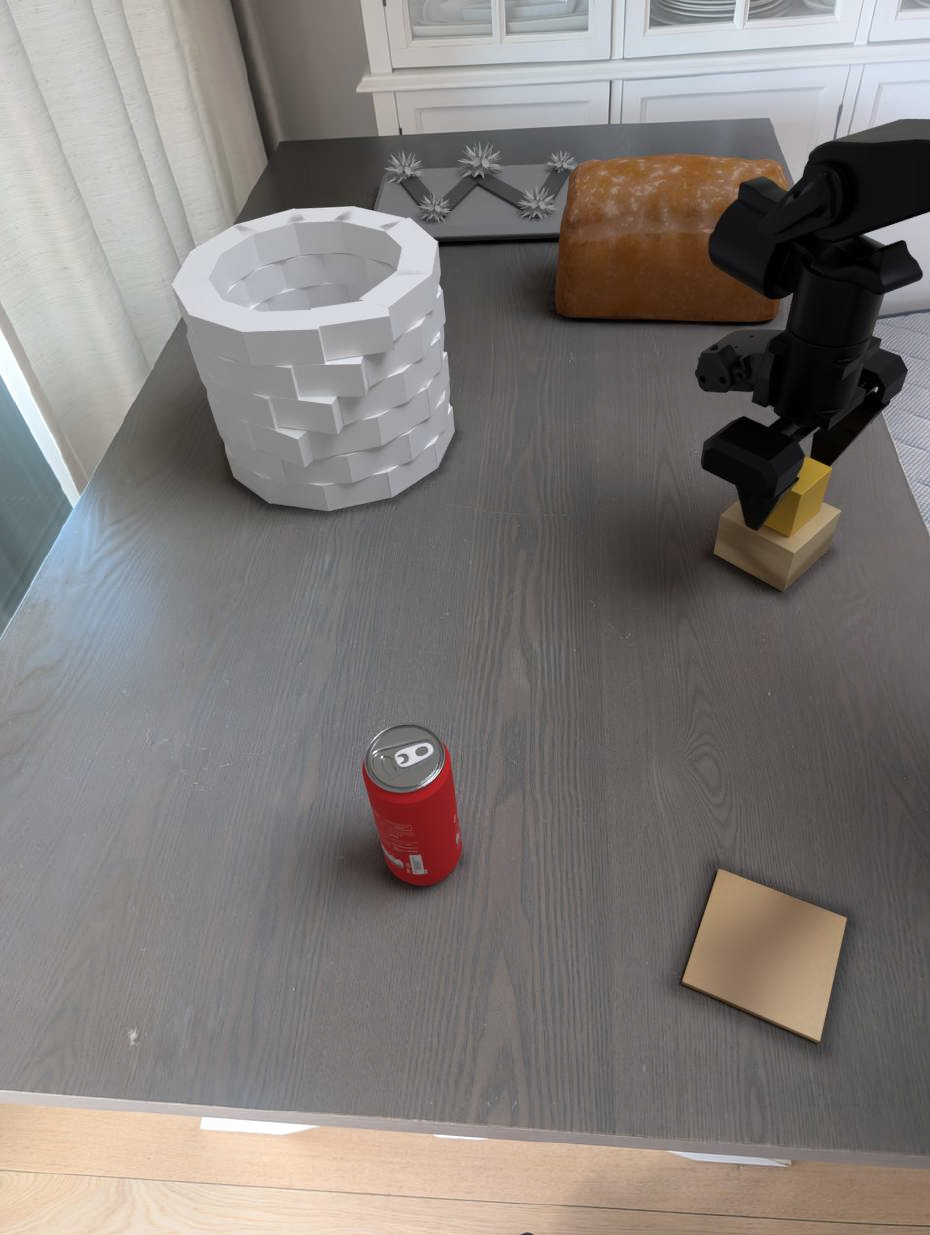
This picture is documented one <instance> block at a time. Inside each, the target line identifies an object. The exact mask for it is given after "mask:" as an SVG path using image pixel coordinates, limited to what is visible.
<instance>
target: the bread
mask: <svg viewBox="0 0 930 1235" xmlns="http://www.w3.org/2000/svg"><path fill="white" fill-rule="evenodd" d="M578 164H579V165H578V166H577V167H576V168H575V169H574V170H573V171H572V172H570V175H569V183H568V191H567V202H566V205H565V209H564V212H563V215H562V220H561V224H560V237H559V238H558V248H557V261H556V262H557V263H556V274H555V275H556V277H555V293H554V294H555V295H554V296H555V297H554V300H555V308H556V313H557V314H559V315H561V316H565V317H567V318H574V319H575V318H577V319H599V320H648V321H649V320H654V321H677V322H678V321H681V322H682V321H683V322H711V323H754V322H757V323H759V322H763V321H768V320H769V321H770V320H774V319H775V317H776V316H777V315H778V314H779V311H780V304H781V299H776V300H773V299H769V298H766V297H765V296H763V295H761V294H760V293H758V292H756V291H755V290H753V289H751V288H750V287H748V286H746V285H745V284H743V283H741V282H740V281H738V280H736V279H735V278H733V277H731V276H730V275H728V274H726V273H725V272H723V271H721V270H720V269H718V268H717V267H715V266H714V265H713V264H712V262H711V260H710V257H709V253H708V243H709V237H710V234H711V233H712V232H713V231H714V228H715V226H716V224H717V222H718V220H719V218H720V217H721V215H722V214H723V213H724V211H725V210H726V209H727V207H728V206H729V205H730V204H732V203H733V202H734V201H735V200H736V199H737V198H738V191H739V185H740V183H742V182H744V181H747V180H751V179H754V178H757V177H760V176H764V177H766V178H768V179H770V180H772V181H774V182H775V183H776V184H777V185H778V186H779V187H781V188H782V189H785V190H787V191H789V190H790V188H789V182H788V179H787V175H786V172H785V168H784V166H783V165H782V164H781V163H780V162H779V161H777V160H774V159H770V158H760V159H759V158H758V159H754V160H753V159H752V160H750V159H746V158H743V157H728V156H727V157H726V156H718V155H717V156H716V155H706V154H688V153H687V154H686V153H670V154H657V155H648V156H647V155H646V156H636V157H635V156H633V157H613V158H610V159H608V160H600V159H588V160H586V161H583V162H581V163H578Z"/></svg>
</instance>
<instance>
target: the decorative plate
mask: <svg viewBox="0 0 930 1235" xmlns="http://www.w3.org/2000/svg"><path fill="white" fill-rule="evenodd" d="M489 144H490V142H488V143H487V145H486V146H485V148H484V150H482V146H481V142H480V140H479V141H478V147H477V143H476V140H475V139H474V146H473V150H471V149H470V147H468V146H467V145H465V147H466V148H465V149H464V150H465V151H462V153H463V154H464V155H465V156H466V158H462V157H461V158H460V159H461V160H460V159H459V160H457V161H458V162H459V163H457V165H458V166H459V167H438V168H437V167H436V168H423V167H424V165H422V164H423V163H421V160H419V161H417V162H415V161H416V159H415V156H416V154H414V155H413V156H412V153H413V152H410V153H409V155H408V157H407V158H406V156H405V152H404V151H401V153H400V151H399V150H398V160H397V159H396V157H394V156H393V155H392V154H390V156H391V157H392V158H390V159H391V160H389V159H387V161H388V162H389V164H391V166H387V167H384V169H385V171H384V173H385V174H384V175H383V176H382V177H381V182H380V185H379V189H378V193H377V196H376V199H375V203H374V207H373V210H372V211H376V212H381V213H385V214H390V215H394V216H399V217H403V218H409V217H410V218H411V219H412V220H413V221H414V222H415V223H416V224H418V225H419V226H420V227H421V228H422V229H423V230H424V231H426V232H427V233H428V234H429V235H430V236H431V237H432V238H434V239H435V240H436V241H438V243H439V242H440V243H444V242H445V243H446V242H448V243H449V242H476V241H504V240H505V241H506V240H507V241H508V240H535V239H559V237H560V224H561V220H562V215H563V212H564V209H565V205H566V202H567V191H568V183H569V175H570V172H572V171H573V170H574V169H575V168H576V167H577V166H578V165H579V164H580V163H578V162H577V161H575V160H574V159H575V156H573V157H572V158H570V154H571V152H569V153H568V151H567V150H566V151H565V153H564V155H563V151H562V149H559V150H560V151H557V154H555V155H554V153H551V155H550V156H549V159H550V160H551V161H547V162H546V163H540V164H511V165H510V164H509V165H501V164H497V163H498V162H499V161H500V160H502V159H503V157H500V154H499V153H501V150H499V151H497V152H495V153H493V154H492V152H493V147H494V145H495V144H494V142H493V143H492V145H491V147H490V148H489ZM401 155H402V156H401Z"/></svg>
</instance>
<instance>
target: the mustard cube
mask: <svg viewBox="0 0 930 1235" xmlns="http://www.w3.org/2000/svg"><path fill="white" fill-rule="evenodd" d="M832 471H833V467H832V466H830V467H829V466H827V465H824V464H822V463H820V462H818V461H816V460H814V459H811V458H810V456H807V455H805V459H804V462H803V466H802V468H801V470H800V472H799V473H798V475H797V477H799V478H800V479H799V481H798V482H797V483H796V485H795V486H794V487H793V488H792V490H791V491H790V492H789V493H788V494H787V496H786V497H785V498H784V499H783V501H782V502H781V503H780V504H779V506H778V507H777V508H776V509H775V511H774V512H773V513H772V515H771V516H770V517H769V518H768V519H767V521H766V522H765V523H764V525H766V526H768V527H770V528H772V529H774V530H775V531H777V532H779V533H781V534H783V535H785V536H787V537H789V538H790V537H791V536H792V535H793V534H794V533H795V532H797V531H798V530H799V529H800V528H801V527H802V526H803V525H804V524H806V523H807V522H808V521H809V520H810V519H811V518H812V517H813V516H815V515H816V514H817V513H818V512H819V511H820V508H821V505H822V502H824V498H825V495H826V492H827V488H828V484H829V481H830V478H831V474H832Z"/></svg>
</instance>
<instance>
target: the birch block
mask: <svg viewBox="0 0 930 1235" xmlns="http://www.w3.org/2000/svg"><path fill="white" fill-rule="evenodd" d="M841 513H842V510H841V509H839V508H837V507H835V506H832V505H831V504H829V503H826V502H825V501H823V502H822V505H821V508H820V511H819V512H818V513H817V514H816V515H815V516H813V517H812V518H811V519H810V520H809V521H808V522H807V523H806V524H804V525H803V526H802V527H801V528H800V529H799V530H798V531H797V532H795V533H794V534H793V535H792V536H791V537H790V538H789V537H787V536H785V535H783V534H781V533H779V532H777V531H775V530H774V529H772V528H770V527H768V526H766V525H764V524H763V525H762V527H761V528H760V529H759V530H758V531H754V530H752V529H751V528H749V527H747V526H746V525H745V521H744V517H743V513H742V509H741V505H740V500H739V499H738V500H737V501H735V503H733V504H732V505H731V506H729V507H728V508H727V509H726V510H725V511H723V512H722V513H721V514H720V518H719V523H718V528H717V534H716V538H715V544H714V549H713V554H714V555H716V556H717V557H719V558H721V559H723V560H725V561H726V562H728V563H730V564H731V565H734V566H736V567H737V568H739V569H741V570H742V571H744V572H746V573H748V574H750V575H752V576H754V577H755V578H757V579H758V580H761V581H762V582H764V583H766V584H768V585H770V586H771V587H773V588H775V589H776V590H778V591H781V592H782V593H784V592H785V591H786V590H787V589H788V588H789V587H791V586H792V585H793V584H794V583H795V582H796V581H797V580H798V579H799V578H801V576H803V575H804V573H806V572H807V571H808V570H809V569H810V568H811V567H812V566H813V565H815V563H816V562H818V561H819V559H821V558H822V557H823V556H824V555H826V553H827V552H828V551H829V550H830V547H831V543H832V541H833V537H834V535H835V532H836V528H837V525H838V523H839V519H840V516H841Z"/></svg>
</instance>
